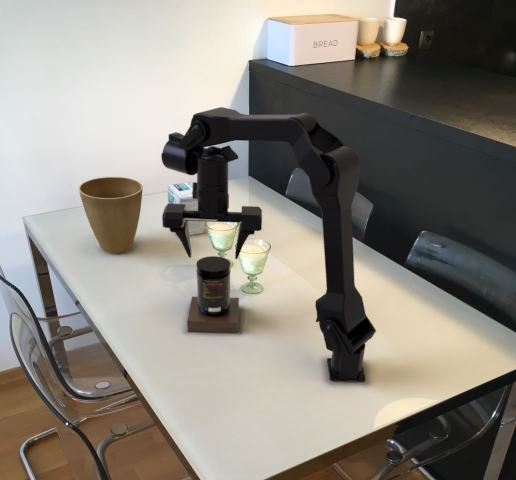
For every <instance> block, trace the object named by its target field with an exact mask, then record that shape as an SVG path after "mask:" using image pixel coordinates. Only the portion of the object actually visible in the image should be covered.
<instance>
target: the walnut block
mask: <svg viewBox="0 0 516 480" xmlns="http://www.w3.org/2000/svg"><path fill="white" fill-rule="evenodd" d="M239 300H240V298H239V297H230V309H229V311H228V312H227V313H225V314H224V315H221V316H207V315H204V314H202V313H201V312H200V311H199V309H198V296H192V297H191V299H190V305H189V306H190V307H189V310H188V315H187V321H186V322H187V332H188V333H218V334H219V333H220V334H222V333H223V334H238V330H239V329H238V327H239V326H238V325H239V313H240V312H239V309H240V301H239Z"/></svg>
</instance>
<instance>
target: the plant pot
mask: <svg viewBox="0 0 516 480" xmlns="http://www.w3.org/2000/svg"><path fill="white" fill-rule="evenodd" d="M143 188H144V186H143V184H142V183H141V182H140V181H138V180H137V179H134V178H129V177H124V176H123V177H122V176H103V177H96V178H95V177H94V178H91V179H89V180H88V179H87V180H85V181H83V182H82V183H81V184H79V186H78V192H79V196H80V199H81V203H82V206H83V210H84V212H85V215H86V219H87V221H88V223H89V225H90V228H91V230H92V233H93V234H94V237H95V240H96V241H97V242H98V245H99V246H100V248H101V250H102V251H103V252H105V253H106V254H107V253H108V254H113V255H119V254H120V255H121V254H124V253H127V252H129V251H131V249H132V248H133V244H134V241H135V238H136V233H137V232H138V231H137V230H138V226H139V221H140V217H141V216H140V215H141V210H142V199H143Z"/></svg>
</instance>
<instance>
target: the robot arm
mask: <svg viewBox="0 0 516 480" xmlns="http://www.w3.org/2000/svg"><path fill="white" fill-rule="evenodd" d="M235 141H243V142H247V141H248V142H278V143H279V142H282V143H283V142H284V143H288V145H289V146H290V148H292V152H293V153H294V157H295V159H296V163H297V164H298V166H299V167H300V168H301V170H302V171H303V172H304V173H305V174H306V175H307V177H308V181H309V185H310V190H311V194H312V196H313V198H314V199H315V201H316V202H317V204H318V205H319V207H320V210H321V221H322V222H321V223H322V237H323V238H322V239H323V254H324V269H325V285H326V290H325V293H324V294H323V295H322V296H320V297H319V298H316V300H315V305H314V306H315V310H316V319H315V322H316V323H318V326H319V330H320V332H321V333H322V335H323V339H324V344H325V348H326V350H328V351H330V352H331V357H329V358H328V357H327V359H326V364H327V365H326V366H327V371H328V377H329V380H330V381H333V382H359V383H360V382H366V374H365V370H364V366H363V363H364V355H365V350H366V343H368V341H370V340H371V339H372V338H373V337H374V336H375V334H376V332H377V330H376V328H375V326H374V325H373V323H372V321H370V320H371V319H369V317H368V315H367V313H366V310H365V309H366V308H365V305H364V300H363V297H362V295H361V293H360V292H359V290H358V289H357V287H356V283H355V263H354V261H355V260H354V259H355V258H354V239H353V237H354V236H353V213H352V211H353V210H352V206H353V202H354V199H355V195H356V193H357V191H358V188H359V185H360V184H359V182H360V175H361V165H362V164H361V159H360V156H359V154H357V153H356V152H355V151H354V150H353V149H352V148H350V147H349V146H347V145H346V144H345V142H344V141H343V140H342V139H341V138H340V137H339V135H337V134H335V133H333V132H332V131H330V130H329V129H328V128H326V127H325V126H323V125H322V124H321V123H320V122H319V121H318V120H317V118H316V117H315V116H314V115H312V114H310V113H307V112H302V113H299V114H244V113H241V112H239V111H237V110H236V109H232V108H228V107H222V106H219V107H216V108H212V109H207V110H204V111H200V112H195V113H194V114H193V115H192V118H191V120H190V126H189V128H188V129H187V131H186V132H185V134H183V133H181V132H177V131H175V132H172V133H169V134H168V140H167V141H166V142H165V144H164V145H163V149H162V152H161V154H160V155H161V157H160V158H161V162H162V165H163V166H164V167H165V168H166V169H168V170H172V171H175V172H178V173H181V174H185V175H189V176H195V175H196V182H192V185H193V190H192V197H193V199H198V211H188V210H186V205H185V204H168V203H167V204H166V205H165V206H164V209H163V212H162V214H161V215H162V216H161V217H162V218H161V219H162V221H161V222H162V227H163V228H165V229H169V231H170V232H171V233H175V235H176V236H177V238H178V239H179V241H180V242H181V244H182V247H183V248H184V251H185V252H186V254H187V256H188V258H189V259H191V258H192V244H191V235H189V229H188V221H203V222H207V223H209V222H210V223H211V222H212V223H213V222H214V223H216V222H217V223H239V225H238V231H237V238H236V245H235V253H234V254H235V255H234V259H235V260H238V258H239V257H240V254H241V251H242V249H243V246H244V244H245V242H246V241H247V239H248V238H249V237H250V236H251V235H252V236H253V235H255V233H256V232H260V231H262V229H263V227H262V226H263V209H262V208H261V207H260V206H253V205H251V206H250V205H242V206H241V211H229V209H230V195H229V163H230V162H234V161H237V160H238V159H239V155H238V154H237V153H236V151H234V150H233V148H232V147H231V146H230V145H225V146H223V147H219V146H217V145H222V144H226V143H230V142H235ZM314 148H316V149H317V150H318V151H320V152H321V153H320V154H319V153H318V152H317V150H315V149H314Z"/></svg>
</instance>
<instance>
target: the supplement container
mask: <svg viewBox="0 0 516 480" xmlns="http://www.w3.org/2000/svg"><path fill="white" fill-rule="evenodd" d="M195 265H196V271H195V272H196V291H197V292H196V293H197V294H196V295H197V297H198V309H199V311H200V312H201V313H202V314H204V315H207V316H221V315H224V314H225V313H227V312H228V311H229V309H230V298H231V261H230V260H229V259H227V258H225V257H223V256H214V255H212V256H211V255H210V256H205V257H202V258H200V259H198V260H196V264H195Z"/></svg>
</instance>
